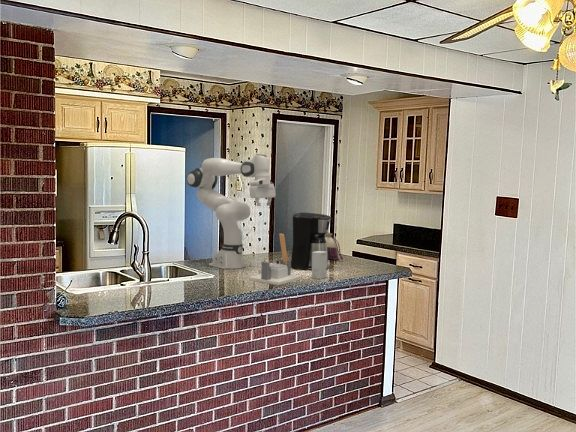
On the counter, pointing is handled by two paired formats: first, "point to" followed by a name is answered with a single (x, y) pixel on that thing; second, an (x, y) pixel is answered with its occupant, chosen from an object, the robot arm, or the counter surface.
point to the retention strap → (283, 248)
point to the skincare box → (319, 264)
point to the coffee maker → (308, 238)
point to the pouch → (332, 247)
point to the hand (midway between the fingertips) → (263, 205)
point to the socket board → (276, 281)
